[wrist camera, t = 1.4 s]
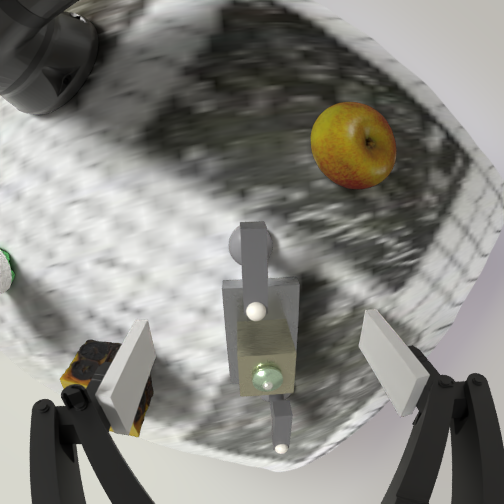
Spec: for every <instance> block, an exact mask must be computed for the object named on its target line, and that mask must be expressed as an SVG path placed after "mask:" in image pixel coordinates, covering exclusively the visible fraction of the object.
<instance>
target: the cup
mask: <svg viewBox="0 0 504 504" xmlns="http://www.w3.org/2000/svg"><path fill="white" fill-rule="evenodd" d="M9 259H10V257H9V254H8V253H6V252H4V251H2V250H0V294H2V293H4V292H5V291H7V290H8V289H9V288H10V286H11V283H12V281H13V279H14V277H15V274H14V272H13V270H11V268H10V264H9Z"/></svg>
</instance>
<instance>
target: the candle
mask: <svg viewBox="0 0 504 504" xmlns="http://www.w3.org/2000/svg"><path fill="white" fill-rule="evenodd" d="M121 345H122V344H120V343H111V342H99V341H94V340H87V341H86V343H85V344H84V345H82V346H81V348H80V350H79V351H78V352H77V354H76V356H75V358H74V360H73V361H72V362H71V364H70V366H69V368H68V369H67V370H66V371H65V373H64V374H63V375H62V377H61V378H60V381H61V384H62V386H63V388H65V387H67V386H69V385H72V384H80V385H82V386H84V387H85V388H86V387H87V386H88V384H89V382H90V380H92V379H91V378H92V377H93V375H94V373H95V371H96V370H97V368H98V367H99V366H100V365H101V364H102V363H104V362H112V361H113V360H114V358H115V356H116V354H117V352H118V350H119V349H120V347H121ZM151 383H152V381H151V376H150V374H149V377H148V380H147V383H146V385H145V388H144V391H143V394H142V397H141V400H140V403H139V406H138V409H137V412H136V415H135V418H134V421H133V424H132V427H131V430H130V433H129V435H131V436H135V437H139V435H140V430H141V426H142V424H143V421H144V417H145V413H146V411H147V409H148V407H149V404H150V400H151V397H152V396H153V388H152V384H151ZM109 431H112V432H114V431H113V429H112V427H110V430H109Z"/></svg>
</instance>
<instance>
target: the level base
mask: <svg viewBox="0 0 504 504" xmlns="http://www.w3.org/2000/svg"><path fill="white" fill-rule="evenodd" d="M299 292H300V284H299V282H298V280H297V278H296V277H286V278H268V314H266V315H265V317H264V318H263V319H262V320H260V321H253V320H251V319H249V318H248V316H247V315H244V302H243V281H242V280H223V285H222V294H223V306H224V318H225V330H226V341H227V351H228V361H229V371H230V381H231V384H240V396H261V395H275V394H286V393H293V392H294V380H295V367H296V351H297V334H298V315H299Z"/></svg>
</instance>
